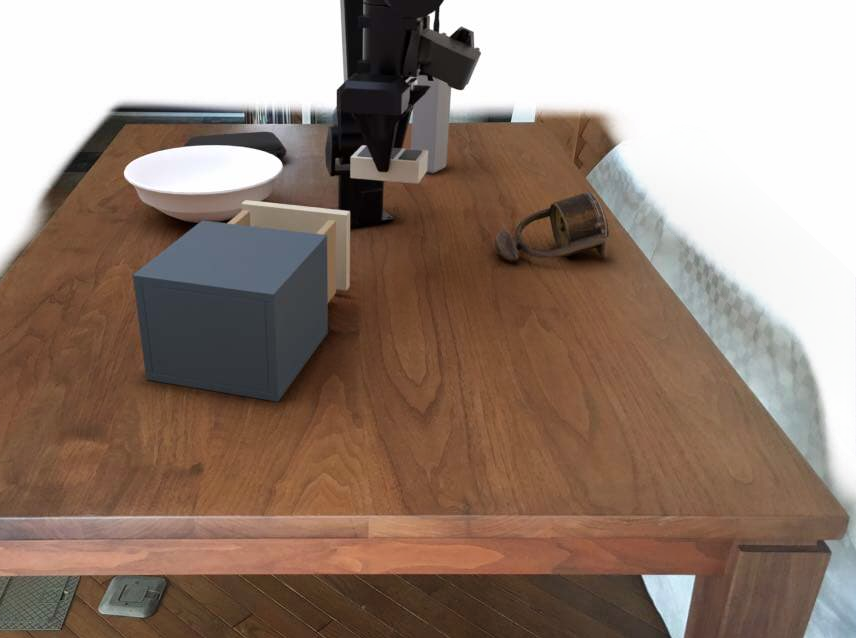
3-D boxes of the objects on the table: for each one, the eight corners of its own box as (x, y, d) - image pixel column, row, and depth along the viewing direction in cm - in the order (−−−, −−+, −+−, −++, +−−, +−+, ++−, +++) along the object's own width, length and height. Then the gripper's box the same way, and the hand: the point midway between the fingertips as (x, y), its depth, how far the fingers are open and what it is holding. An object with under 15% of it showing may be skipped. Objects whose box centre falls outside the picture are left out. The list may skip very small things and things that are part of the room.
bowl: (147, 190, 125) (142, 144, 122) (290, 191, 124) (288, 145, 121) (113, 243, 108) (106, 191, 105) (278, 244, 107) (276, 192, 104)
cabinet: (209, 315, 91) (202, 220, 86) (328, 333, 88) (327, 234, 83) (145, 379, 80) (132, 274, 75) (278, 402, 77) (273, 294, 72)
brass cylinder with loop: (621, 230, 96) (620, 182, 103) (501, 212, 98) (508, 165, 105) (604, 284, 101) (604, 235, 108) (490, 266, 103) (497, 218, 110)
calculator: (350, 178, 94) (350, 156, 92) (361, 165, 97) (362, 144, 96) (418, 183, 92) (419, 161, 91) (427, 170, 96) (428, 149, 94)
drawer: (263, 260, 101) (259, 188, 97) (360, 272, 98) (361, 198, 94) (200, 322, 88) (193, 242, 84) (311, 338, 85) (309, 256, 81)
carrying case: (191, 174, 131) (290, 167, 134) (189, 153, 129) (290, 146, 132) (183, 154, 140) (277, 147, 143) (182, 134, 138) (276, 128, 141)
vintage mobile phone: (417, 162, 136) (426, -20, 123) (446, 168, 133) (458, -18, 120) (404, 168, 133) (411, -18, 120) (433, 174, 131) (444, -15, 118)
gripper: (460, 20, 76) (449, 199, 84) (492, -7, 91) (479, 147, 100) (334, 15, 79) (335, 189, 87) (385, -11, 94) (381, 139, 102)
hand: (388, 164), depth 94 cm, fingers closed on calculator, 4 cm apart
